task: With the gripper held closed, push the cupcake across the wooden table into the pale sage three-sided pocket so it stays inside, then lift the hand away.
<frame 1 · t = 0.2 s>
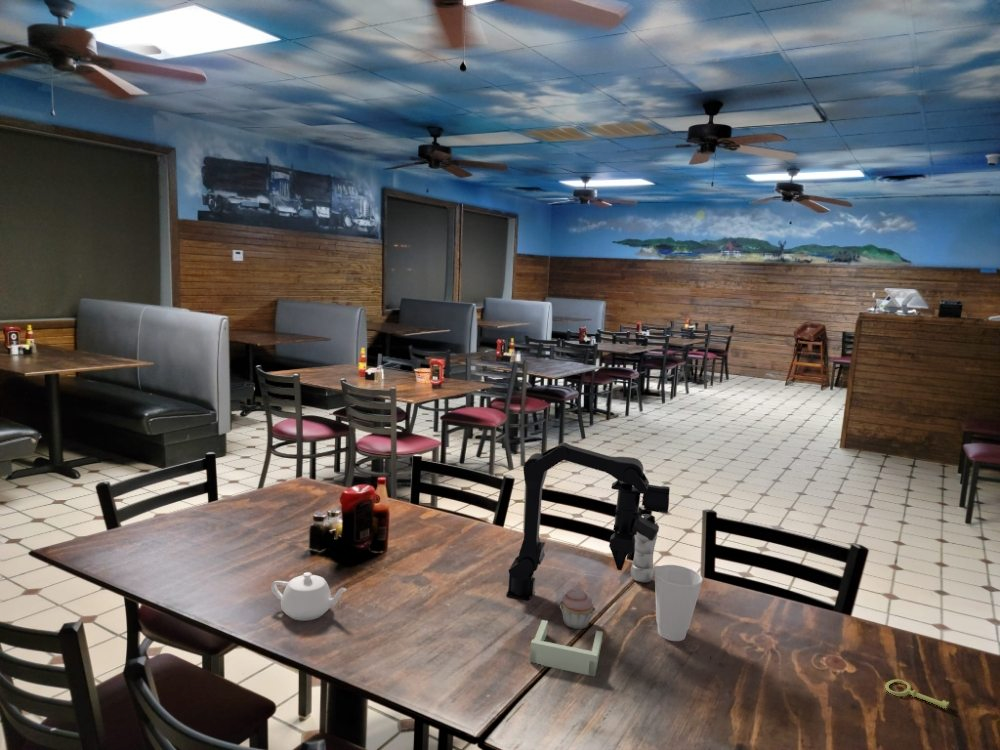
hand: (620, 562, 177), 14 cm above the table, tool pointing down, fingers open, 9 cm apart
key: (912, 699, 150), on the table
teapot: (308, 612, 168), on the table
plastic bottle: (641, 580, 199), on the table
cupcake: (575, 623, 172), on the table
cup: (671, 634, 170), on the table
pocket: (566, 651, 158), on the table
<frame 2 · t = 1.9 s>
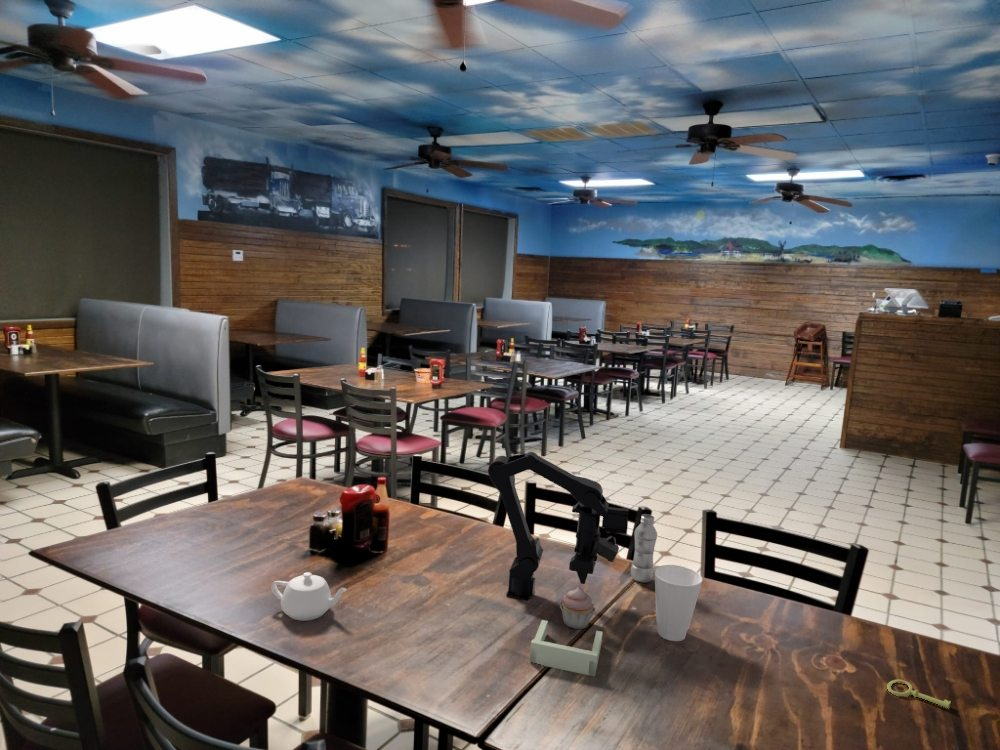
hand: (582, 583, 181), 6 cm above the table, tool pointing down, fingers closed
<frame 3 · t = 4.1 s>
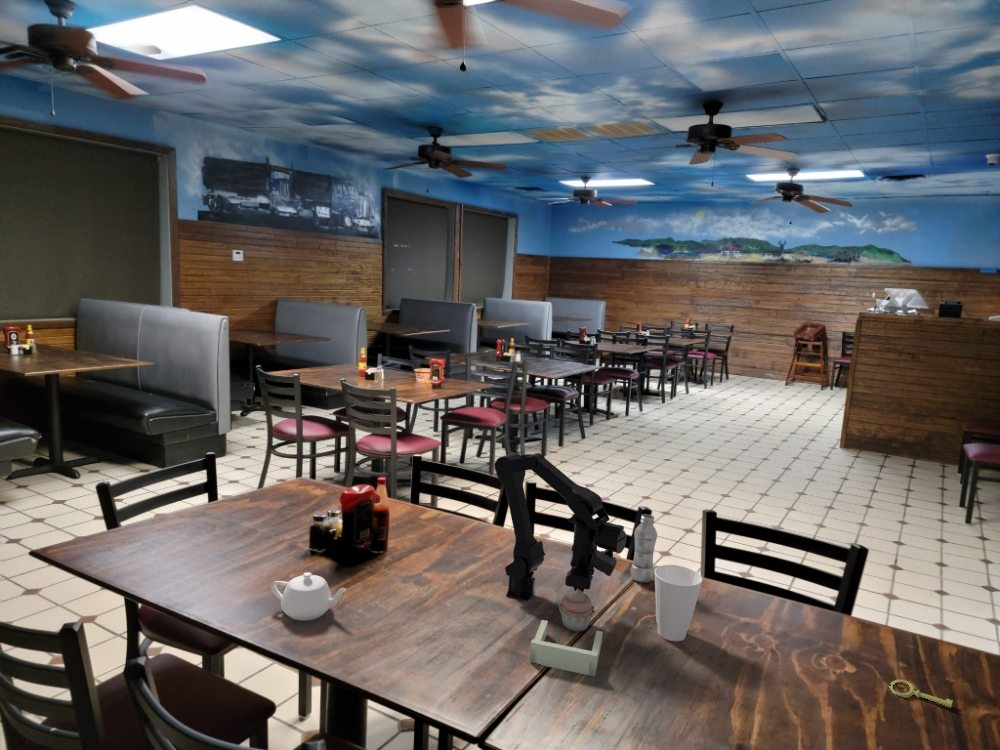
hand: (579, 597, 174), 5 cm above the table, tool pointing down, fingers closed
cupcake: (574, 626, 170), on the table, touching gripper
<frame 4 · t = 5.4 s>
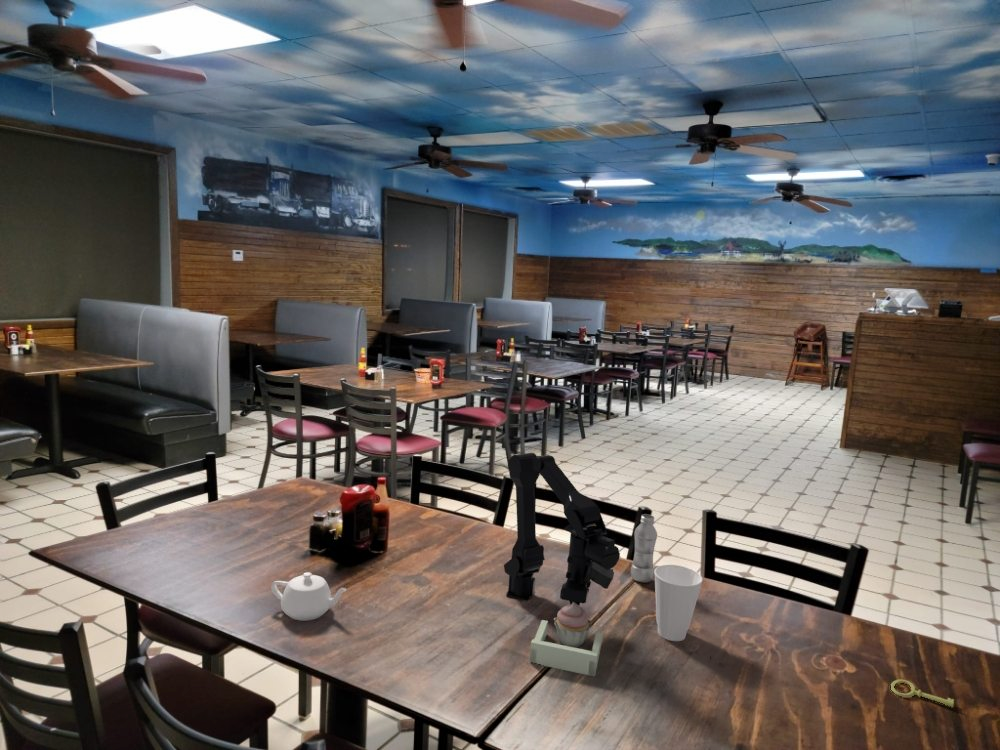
hand: (575, 611, 167), 5 cm above the table, tool pointing down, fingers closed
cupcake: (570, 641, 163), on the table, touching gripper
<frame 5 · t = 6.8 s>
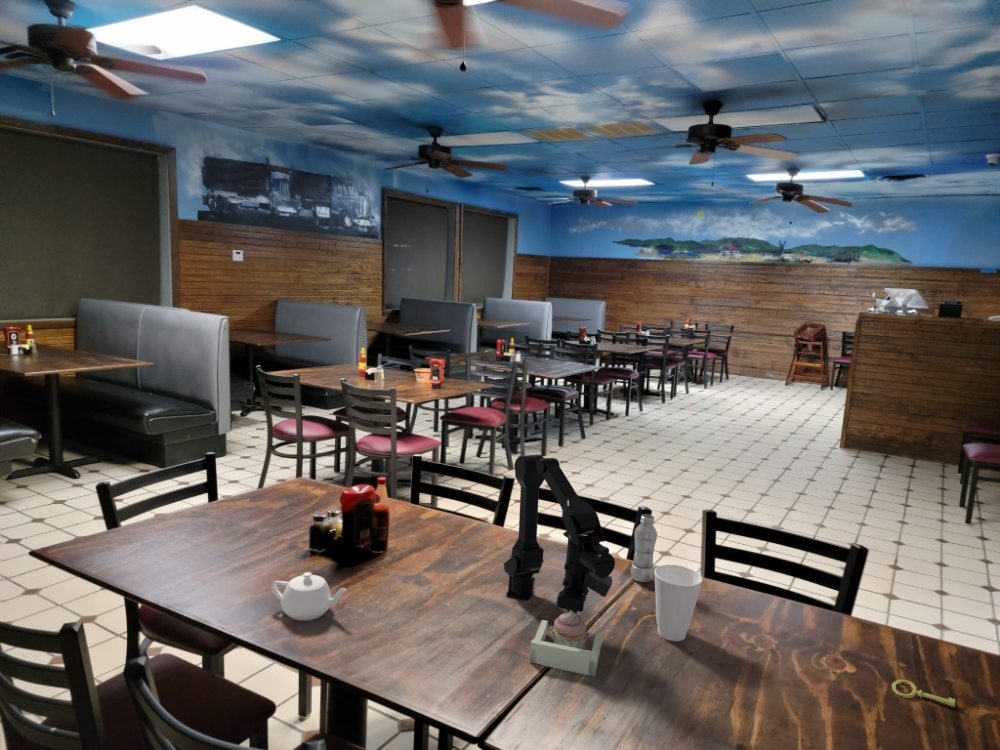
hand: (572, 619, 163), 5 cm above the table, tool pointing down, fingers closed
cupcake: (567, 650, 159), on the table, touching gripper
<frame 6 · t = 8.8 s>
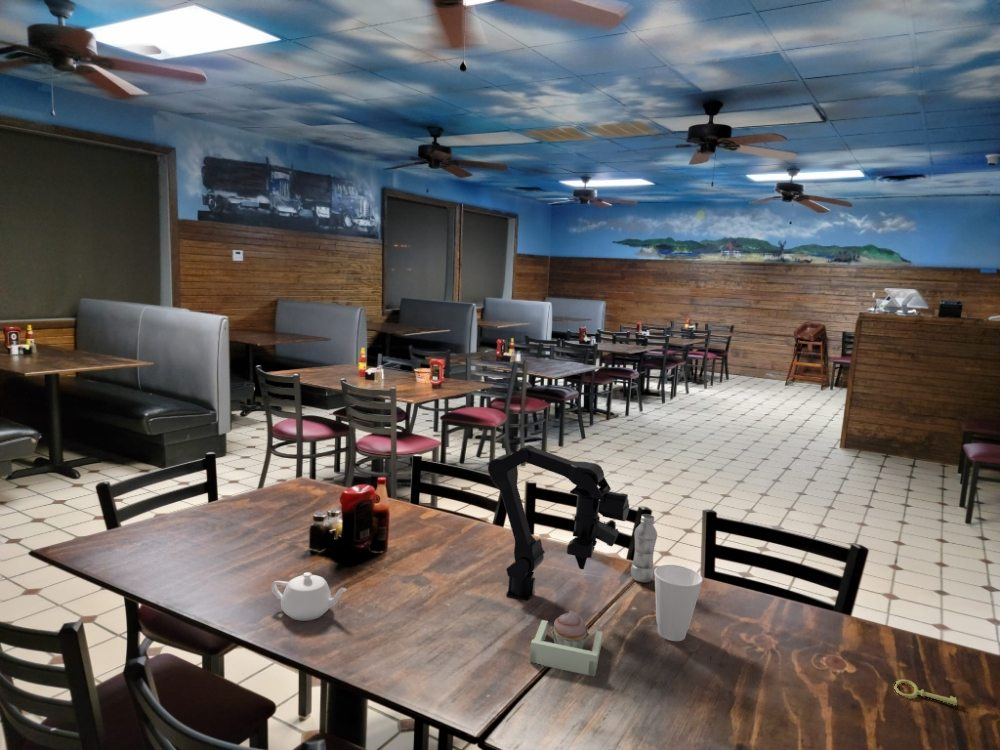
hand: (581, 568, 176), 12 cm above the table, tool pointing down, fingers closed
cupcake: (567, 650, 159), on the table
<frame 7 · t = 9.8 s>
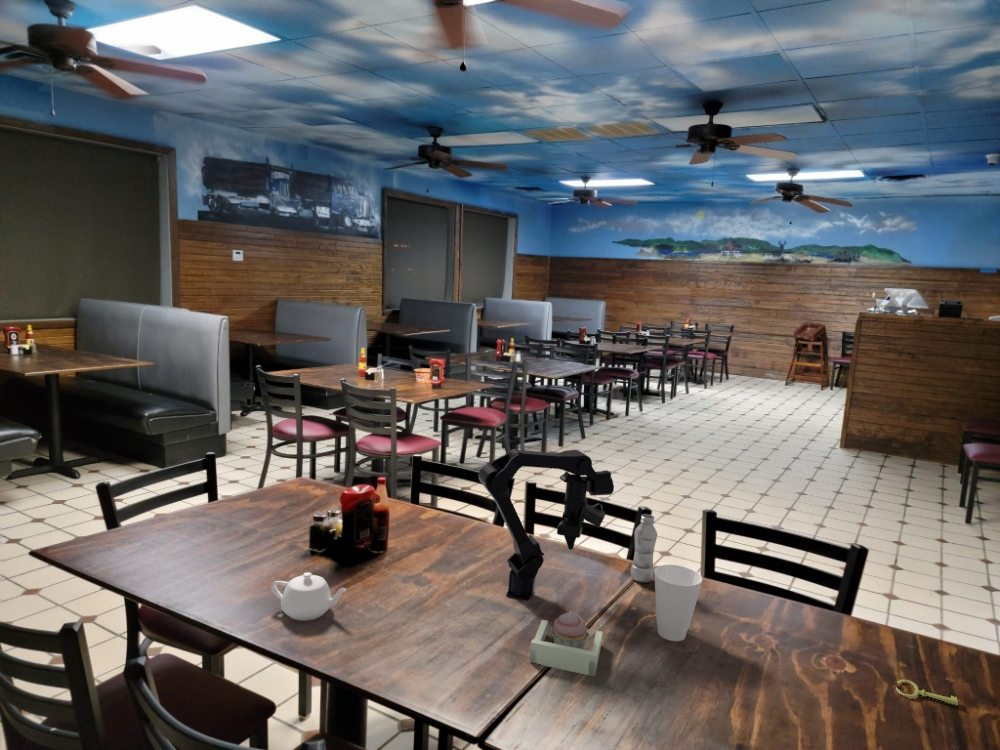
hand: (570, 548, 188), 12 cm above the table, tool pointing down, fingers closed
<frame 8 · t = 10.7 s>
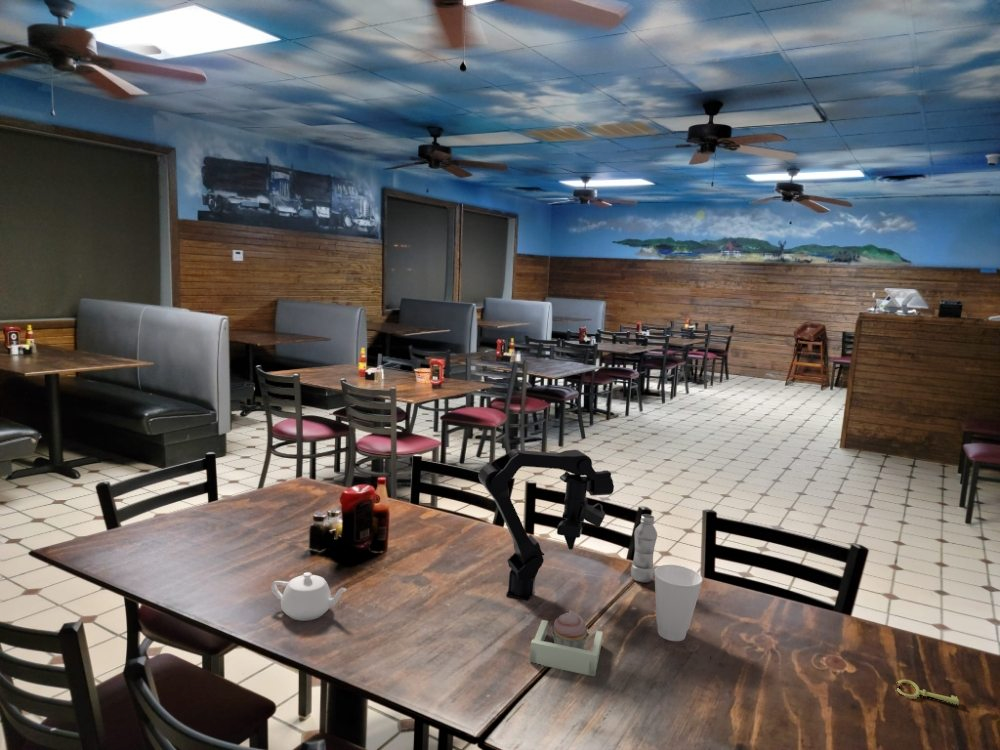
hand: (570, 548, 188), 12 cm above the table, tool pointing down, fingers closed
at the end: cupcake inside the target area on the pocket (2.9 cm from its centre), point 0.0 cm above the pocket's base; cupcake tilted 0°; cupcake moved 12.9 cm from its start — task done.
